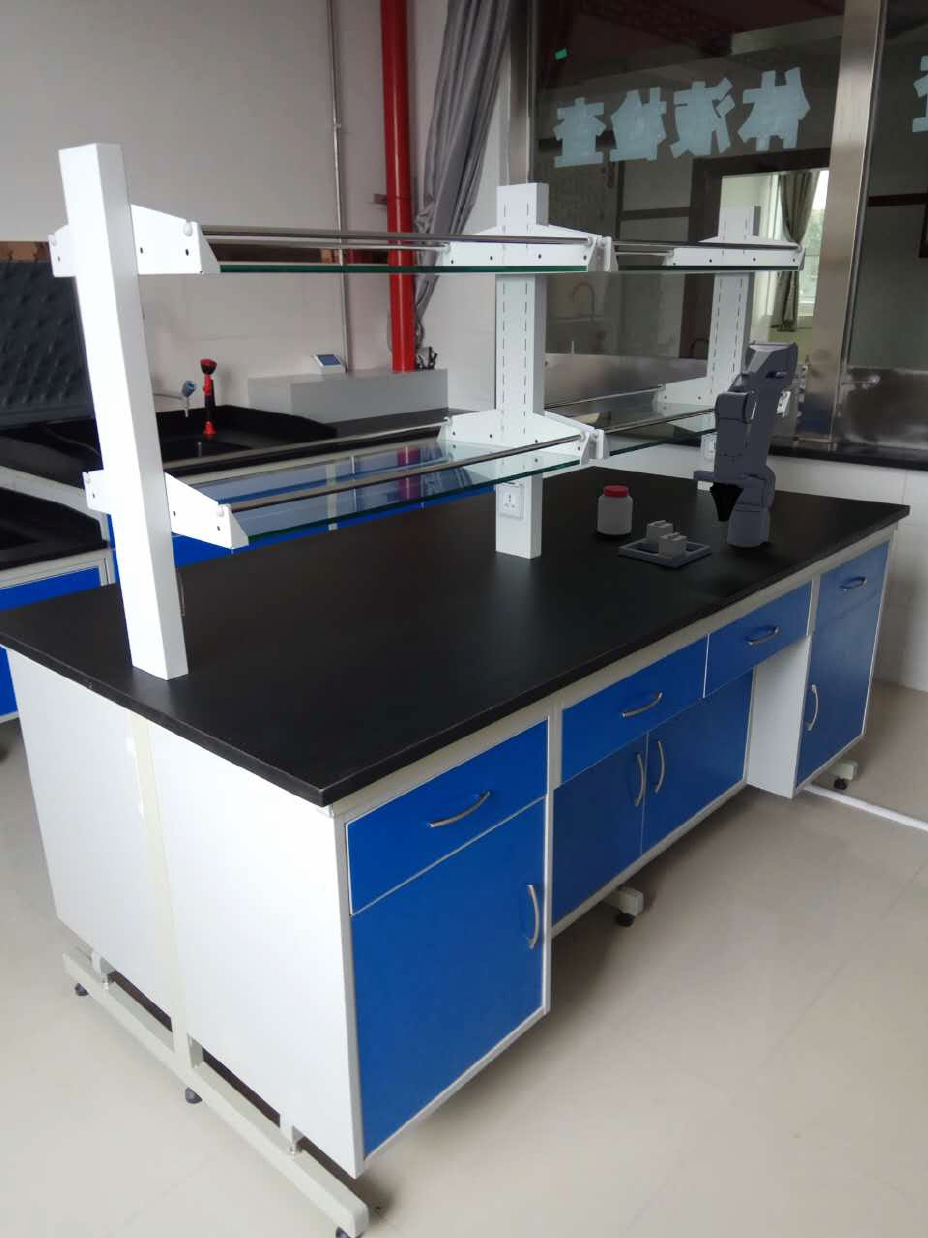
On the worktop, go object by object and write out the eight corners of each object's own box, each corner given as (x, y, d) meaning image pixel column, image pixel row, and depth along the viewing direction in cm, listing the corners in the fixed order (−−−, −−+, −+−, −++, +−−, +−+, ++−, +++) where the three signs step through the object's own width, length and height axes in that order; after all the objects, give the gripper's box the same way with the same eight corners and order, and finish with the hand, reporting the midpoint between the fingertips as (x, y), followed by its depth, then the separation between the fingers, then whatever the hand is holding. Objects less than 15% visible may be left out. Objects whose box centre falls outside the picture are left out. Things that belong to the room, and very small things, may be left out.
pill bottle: (630, 539, 211) (632, 492, 207) (596, 538, 213) (598, 491, 209) (631, 530, 218) (633, 484, 214) (598, 529, 220) (600, 483, 216)
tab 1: (668, 556, 195) (670, 530, 193) (685, 559, 193) (687, 533, 191) (657, 560, 193) (659, 534, 191) (674, 564, 190) (676, 537, 188)
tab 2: (655, 543, 205) (657, 518, 203) (671, 546, 202) (673, 521, 200) (645, 546, 202) (647, 521, 200) (661, 550, 199) (662, 525, 197)
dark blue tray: (638, 541, 210) (638, 529, 209) (712, 558, 197) (714, 545, 197) (600, 554, 201) (601, 542, 200) (676, 573, 188) (677, 560, 187)
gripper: (687, 451, 185) (681, 517, 190) (753, 461, 176) (746, 530, 181) (705, 447, 190) (700, 511, 195) (771, 456, 181) (764, 524, 185)
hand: (723, 520), depth 188 cm, fingers closed
